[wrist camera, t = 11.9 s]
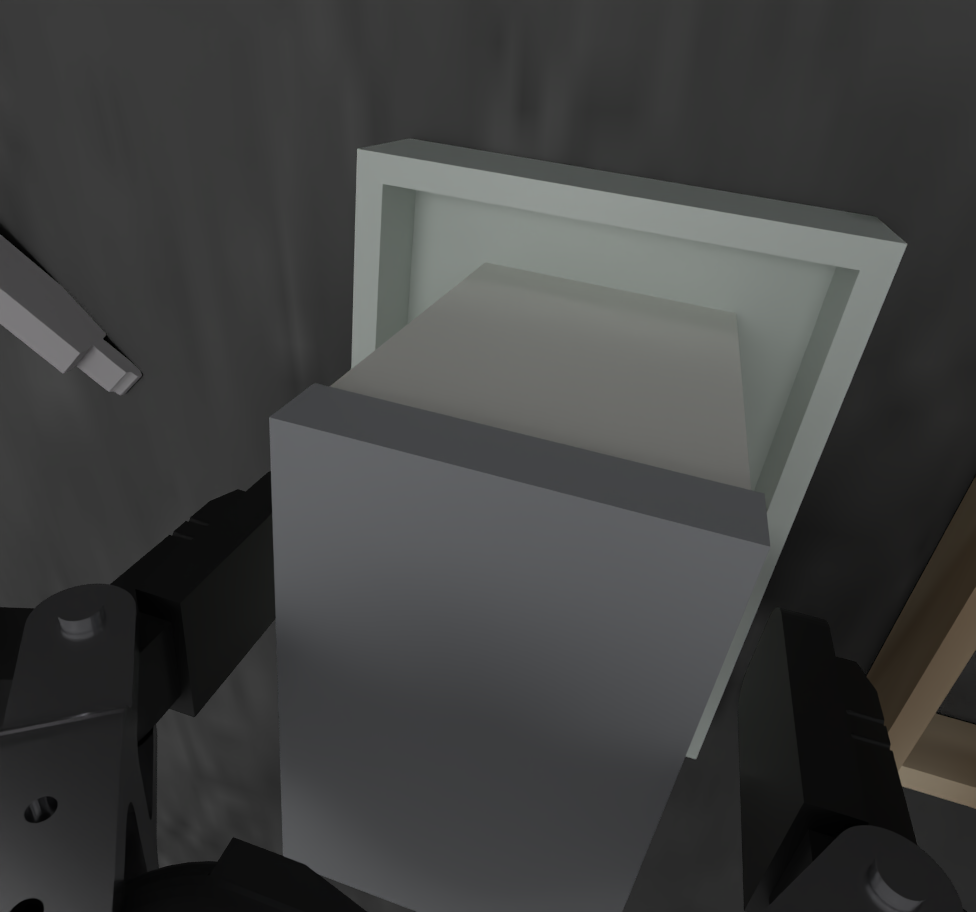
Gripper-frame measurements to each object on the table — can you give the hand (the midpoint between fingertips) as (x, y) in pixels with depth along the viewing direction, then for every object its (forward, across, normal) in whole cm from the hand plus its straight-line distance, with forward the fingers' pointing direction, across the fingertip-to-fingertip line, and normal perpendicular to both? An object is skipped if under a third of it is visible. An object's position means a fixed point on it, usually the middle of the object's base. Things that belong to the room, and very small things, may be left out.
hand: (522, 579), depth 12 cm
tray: (+5, 0, 0) cm, 5 cm away
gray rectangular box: (+4, 0, 0) cm, 4 cm away
